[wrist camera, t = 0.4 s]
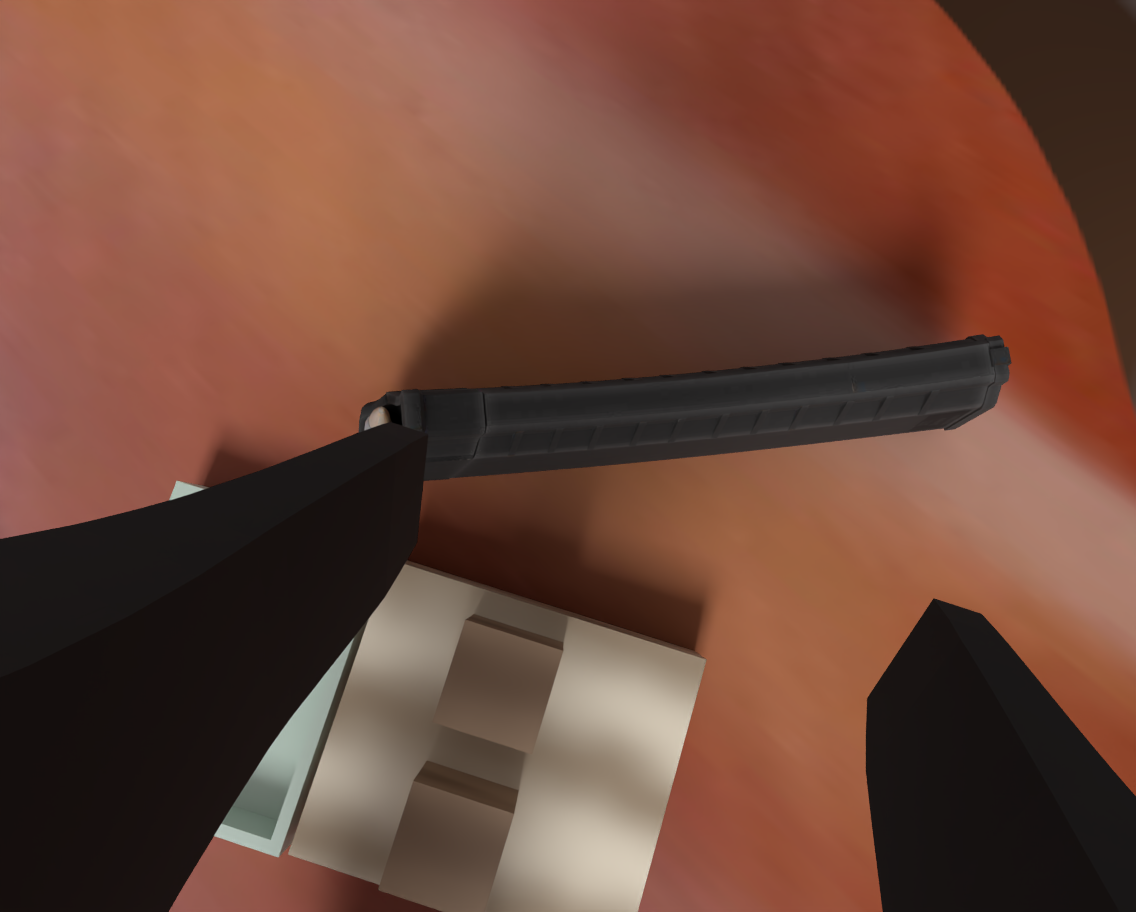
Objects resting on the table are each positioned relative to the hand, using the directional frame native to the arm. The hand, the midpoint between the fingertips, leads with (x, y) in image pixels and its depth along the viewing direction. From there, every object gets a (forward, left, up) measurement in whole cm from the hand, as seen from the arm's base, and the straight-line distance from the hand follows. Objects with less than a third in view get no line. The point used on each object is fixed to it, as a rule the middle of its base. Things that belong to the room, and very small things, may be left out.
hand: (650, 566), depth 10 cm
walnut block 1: (-6, +2, -24) cm, 25 cm away
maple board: (-10, +1, -27) cm, 29 cm away
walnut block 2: (-13, +2, -24) cm, 28 cm away
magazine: (+8, -2, -28) cm, 29 cm away
